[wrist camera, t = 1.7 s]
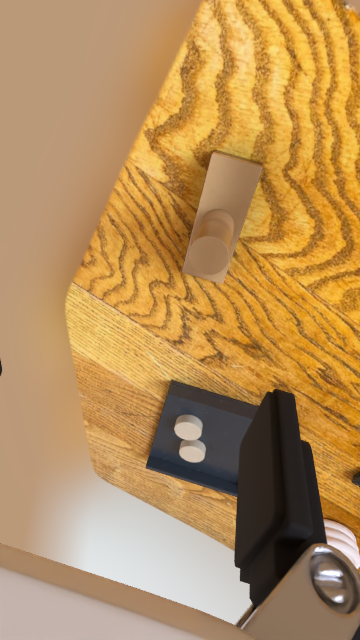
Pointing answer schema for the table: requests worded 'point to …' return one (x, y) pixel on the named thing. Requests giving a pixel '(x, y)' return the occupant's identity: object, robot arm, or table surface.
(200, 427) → the disc
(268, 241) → the table surface
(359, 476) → the tool
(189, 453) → the disc
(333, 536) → the coaster
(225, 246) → the brush
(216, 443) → the tray
